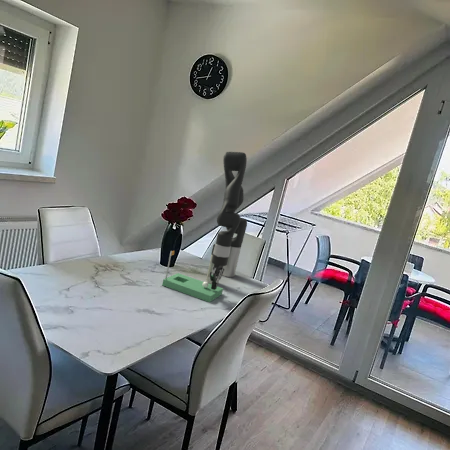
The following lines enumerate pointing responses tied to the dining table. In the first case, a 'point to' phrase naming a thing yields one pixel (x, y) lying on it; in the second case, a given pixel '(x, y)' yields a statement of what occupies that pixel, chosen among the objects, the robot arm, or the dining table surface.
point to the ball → (205, 284)
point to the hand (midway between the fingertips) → (213, 289)
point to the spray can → (210, 268)
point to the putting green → (191, 286)
